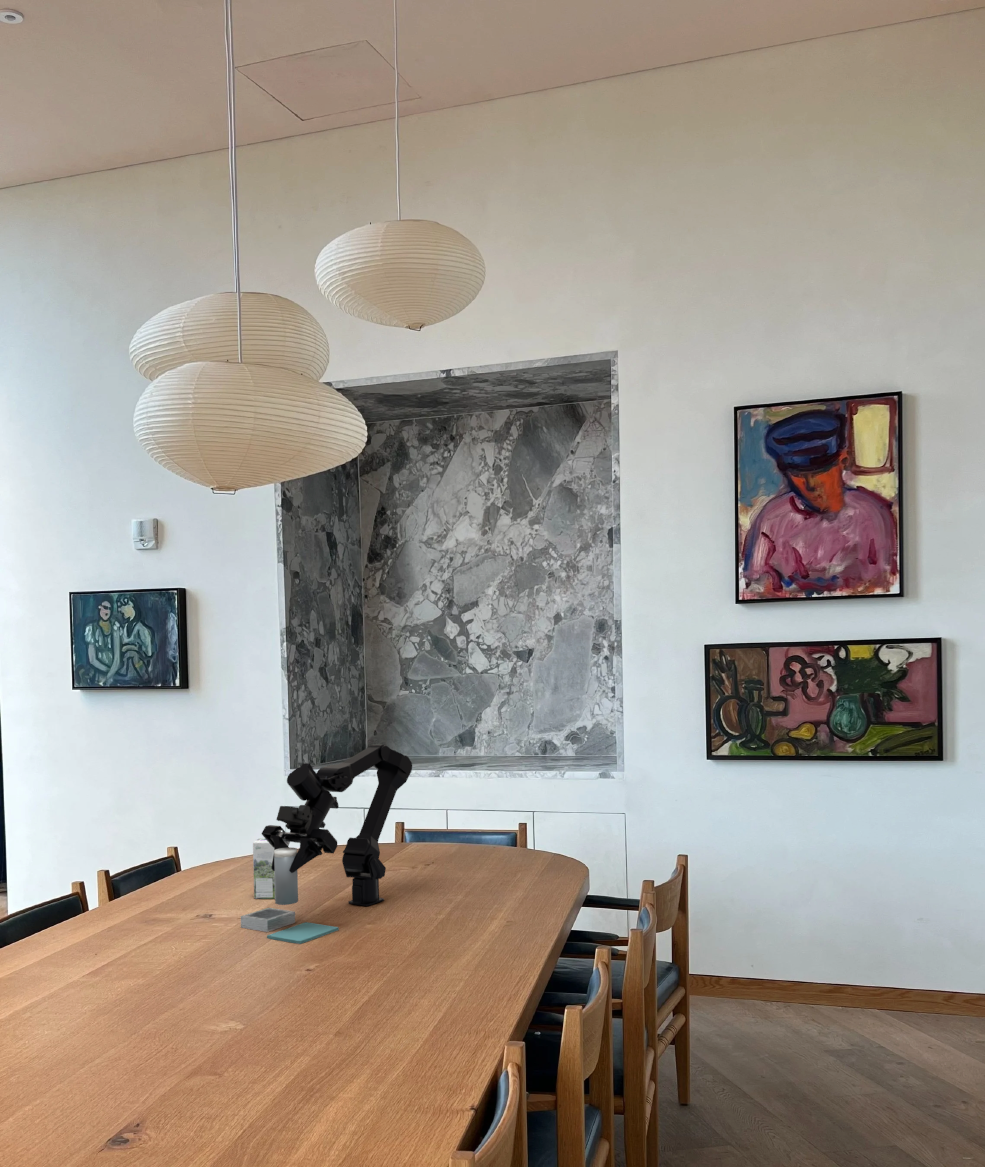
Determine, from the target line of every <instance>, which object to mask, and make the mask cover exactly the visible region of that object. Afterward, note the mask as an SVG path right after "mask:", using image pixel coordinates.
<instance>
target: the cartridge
mask: <svg viewBox="0 0 985 1167" xmlns="http://www.w3.org/2000/svg"><path fill="white" fill-rule="evenodd" d="M297 852H298V848H297V847H289V848H280V849H276V850H274V865H275V899H274V902H275V904H276V905H279V906H285V905H286V906H287V905H294V904H296V903H298V902H299V886H298V885H299V882H298V880H299V879H298V877H299V876H298V870H296V871H295V872H293V873H291V872H290V871H289V869H290V867H291V864H292V862H293V860H294V858H295V856H296V854H297Z"/></svg>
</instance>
